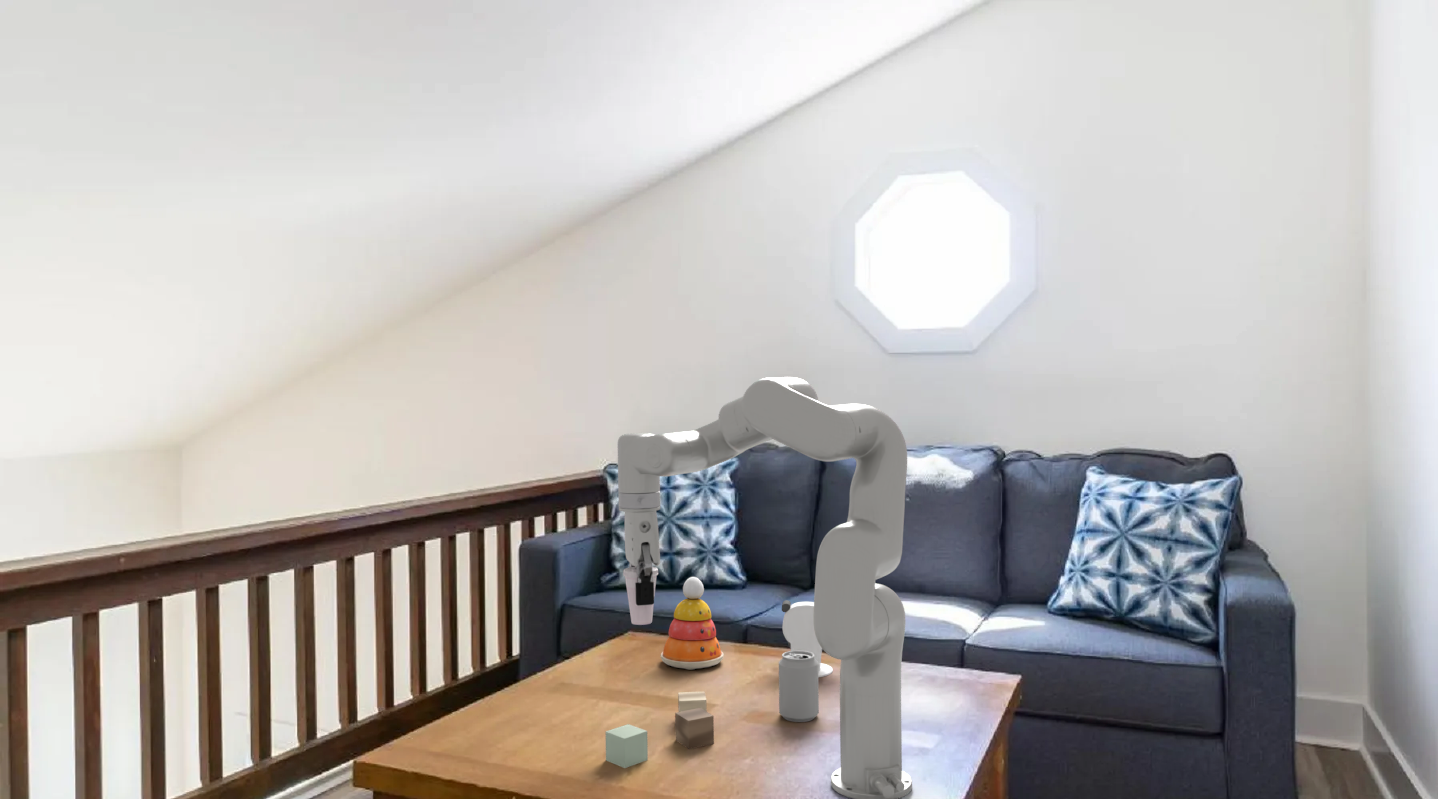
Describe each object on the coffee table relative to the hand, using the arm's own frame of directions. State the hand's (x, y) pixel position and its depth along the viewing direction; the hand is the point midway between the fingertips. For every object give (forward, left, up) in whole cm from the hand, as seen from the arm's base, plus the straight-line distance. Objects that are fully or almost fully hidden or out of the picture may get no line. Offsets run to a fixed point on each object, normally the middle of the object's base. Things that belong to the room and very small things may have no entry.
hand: (641, 599), depth 183 cm
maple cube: (+3, -10, -24) cm, 27 cm away
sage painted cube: (-12, +5, -24) cm, 28 cm away
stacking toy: (+41, -19, -25) cm, 51 cm away
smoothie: (0, 0, -4) cm, 4 cm away
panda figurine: (+28, -42, -25) cm, 56 cm away
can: (0, -30, -25) cm, 39 cm away
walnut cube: (-7, -8, -24) cm, 27 cm away
